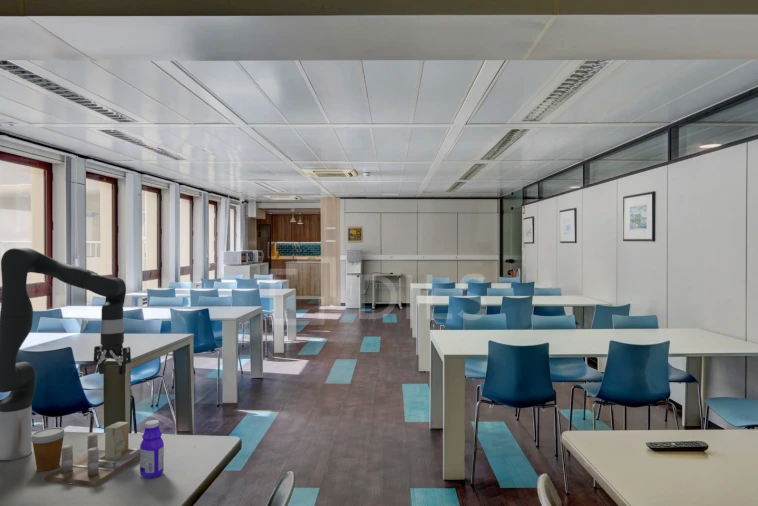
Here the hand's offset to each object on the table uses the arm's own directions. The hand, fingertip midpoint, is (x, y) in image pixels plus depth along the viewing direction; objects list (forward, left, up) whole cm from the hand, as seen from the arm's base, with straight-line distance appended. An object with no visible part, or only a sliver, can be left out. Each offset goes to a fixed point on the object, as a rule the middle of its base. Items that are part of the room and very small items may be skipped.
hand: (112, 374), depth 167 cm
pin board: (+7, -15, -28) cm, 32 cm away
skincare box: (+12, -11, -27) cm, 31 cm away
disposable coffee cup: (-10, -17, -28) cm, 34 cm away
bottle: (+29, -15, -28) cm, 43 cm away
